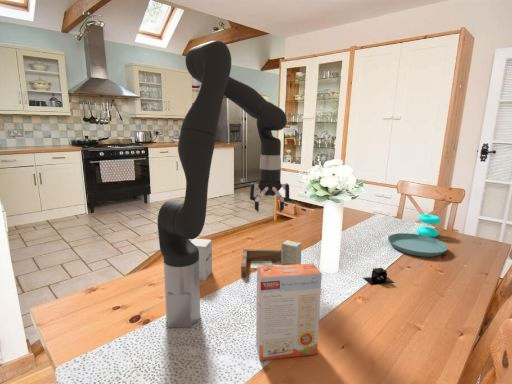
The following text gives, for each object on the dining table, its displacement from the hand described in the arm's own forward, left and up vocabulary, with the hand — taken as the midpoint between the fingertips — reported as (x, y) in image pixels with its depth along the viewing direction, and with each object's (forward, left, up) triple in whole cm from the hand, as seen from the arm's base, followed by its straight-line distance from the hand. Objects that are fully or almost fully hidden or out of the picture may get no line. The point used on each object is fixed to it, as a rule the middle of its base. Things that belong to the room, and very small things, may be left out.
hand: (269, 211), depth 111 cm
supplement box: (-7, +25, -23) cm, 34 cm away
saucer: (+23, -69, -23) cm, 77 cm away
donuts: (+42, -85, -23) cm, 98 cm away
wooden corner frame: (0, 0, -23) cm, 23 cm away
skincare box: (-5, -8, -23) cm, 25 cm away
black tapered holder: (-8, -39, -23) cm, 47 cm away
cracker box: (-44, -3, -23) cm, 49 cm away
